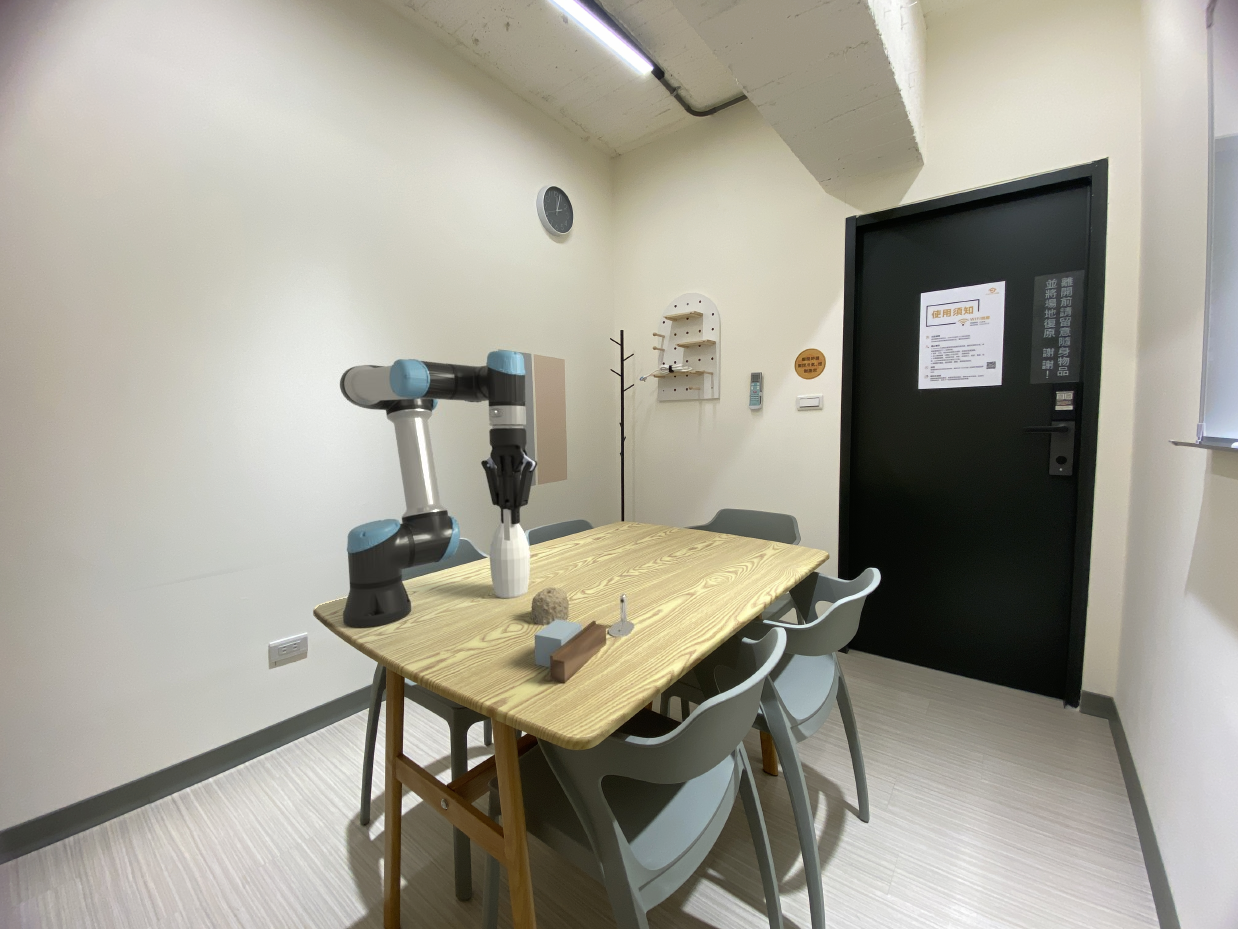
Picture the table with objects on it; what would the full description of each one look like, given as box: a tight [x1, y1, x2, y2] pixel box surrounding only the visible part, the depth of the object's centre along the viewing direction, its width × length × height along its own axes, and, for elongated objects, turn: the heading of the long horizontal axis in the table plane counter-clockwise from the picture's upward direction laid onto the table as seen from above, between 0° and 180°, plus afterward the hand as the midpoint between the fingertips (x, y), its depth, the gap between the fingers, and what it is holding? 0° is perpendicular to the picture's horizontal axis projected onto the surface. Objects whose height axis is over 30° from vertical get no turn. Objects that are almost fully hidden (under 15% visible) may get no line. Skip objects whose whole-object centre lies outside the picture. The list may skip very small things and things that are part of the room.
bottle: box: [489, 513, 531, 599], centre depth 132 cm, size 11×11×25 cm
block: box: [534, 619, 583, 668], centre depth 93 cm, size 6×8×6 cm
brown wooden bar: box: [549, 620, 607, 684], centre depth 92 cm, size 3×17×5 cm, turn 156°
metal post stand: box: [608, 593, 635, 638], centre depth 106 cm, size 8×5×8 cm
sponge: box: [530, 586, 570, 626], centre depth 114 cm, size 9×10×10 cm
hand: (511, 538), depth 100 cm, fingers closed
